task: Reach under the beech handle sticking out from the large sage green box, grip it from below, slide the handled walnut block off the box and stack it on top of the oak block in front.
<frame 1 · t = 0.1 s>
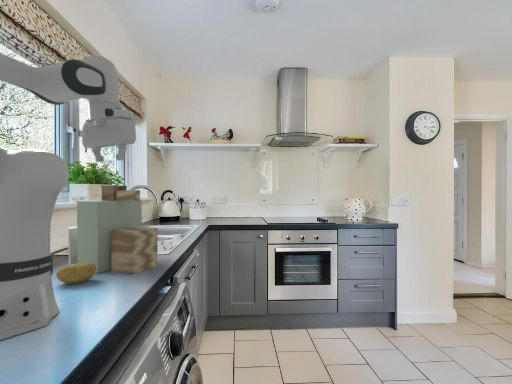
hand: (110, 161, 87), 39 cm above the counter, tool pointing down, fingers open, 8 cm apart
large sage green box: (111, 264, 114), on the counter
potato: (76, 283, 92), on the counter
low oak block: (135, 268, 109), on the counter
skincare box: (80, 265, 115), on the counter
walnut handle block: (114, 200, 114), point 26 cm above the counter, touching large sage green box
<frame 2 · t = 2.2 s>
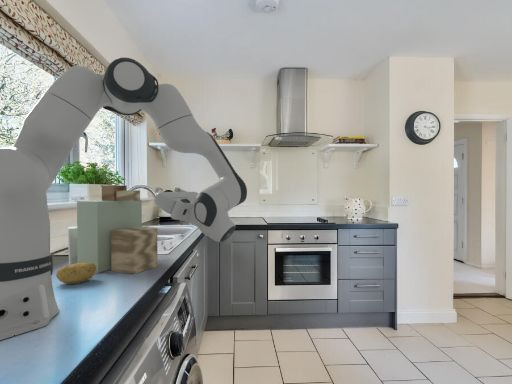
hand: (167, 189, 101), 30 cm above the counter, tool pointing upward, fingers open, 8 cm apart
nothing on the counter moved.
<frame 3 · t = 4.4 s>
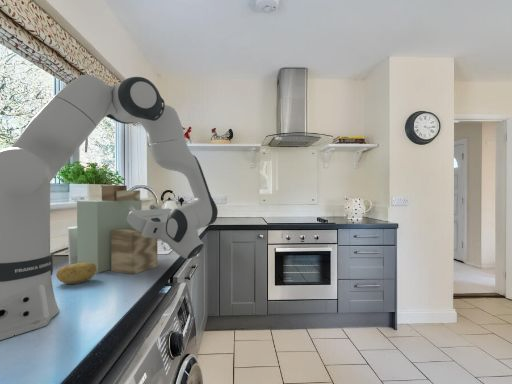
hand: (141, 206, 107), 24 cm above the counter, tool pointing upward, fingers open, 8 cm apart
nothing on the counter moved.
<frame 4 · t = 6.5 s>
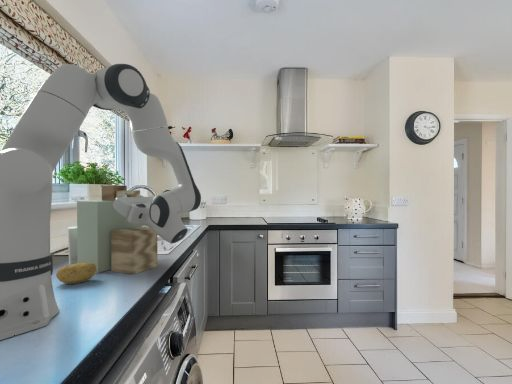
hand: (128, 194, 110), 28 cm above the counter, tool pointing upward, fingers closed on walnut handle block, 3 cm apart
walnut handle block: (114, 200, 114), point 26 cm above the counter, touching gripper, large sage green box
everything else where it was.
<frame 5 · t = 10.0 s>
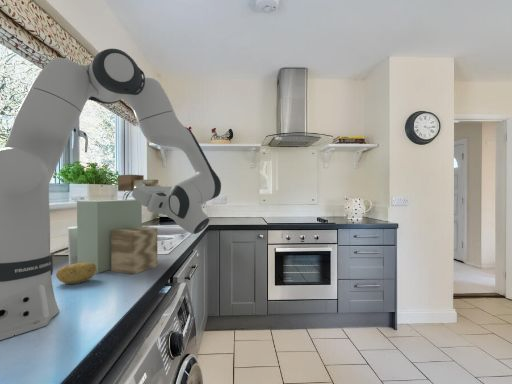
hand: (146, 184, 106), 32 cm above the counter, tool pointing upward, fingers closed on walnut handle block, 3 cm apart
walnut handle block: (131, 190, 109), point 30 cm above the counter, touching gripper
everything else where it was.
when the fingers open (19 cm above the counter, at t = 13.3 s): walnut handle block drops 2 cm, resting on low oak block.
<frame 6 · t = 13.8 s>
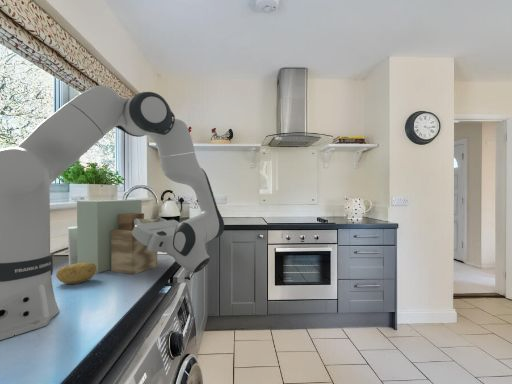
hand: (146, 218, 106), 19 cm above the counter, tool pointing upward, fingers open, 8 cm apart
walnut handle block: (131, 229, 109), point 15 cm above the counter, touching low oak block
everything else where it was.
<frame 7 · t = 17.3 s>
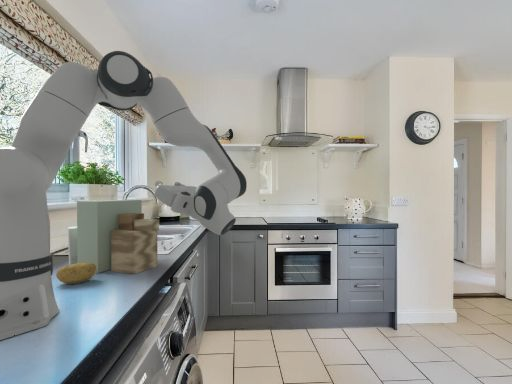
hand: (166, 183, 101), 32 cm above the counter, tool pointing upward, fingers open, 8 cm apart
nothing on the counter moved.
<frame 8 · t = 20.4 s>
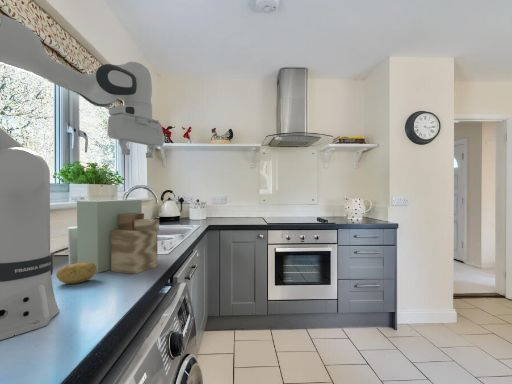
hand: (138, 156, 94), 41 cm above the counter, tool pointing down, fingers open, 8 cm apart
nothing on the counter moved.
at the end: walnut handle block inside the target area on the low oak block (0.4 cm from its centre), point 15.0 cm above the low oak block's base; walnut handle block tilted 0°; the gripper is holding nothing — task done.
